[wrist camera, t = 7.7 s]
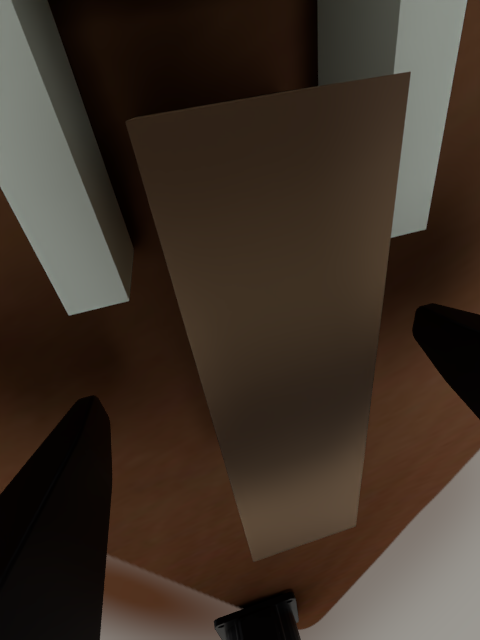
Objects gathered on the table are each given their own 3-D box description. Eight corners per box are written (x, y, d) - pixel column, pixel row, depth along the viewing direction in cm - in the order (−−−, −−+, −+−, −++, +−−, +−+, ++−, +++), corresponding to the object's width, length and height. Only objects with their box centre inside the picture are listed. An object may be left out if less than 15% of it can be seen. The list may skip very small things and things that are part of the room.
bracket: (356, 199, 10) (426, 229, 7) (90, 259, 9) (68, 315, 6) (374, -141, 6) (521, -304, 4) (-67, -100, 5) (-248, -279, 3)
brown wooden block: (297, 411, 15) (355, 526, 11) (223, 434, 14) (253, 561, 10) (277, 92, 8) (410, 71, 4) (136, 116, 8) (125, 121, 4)
